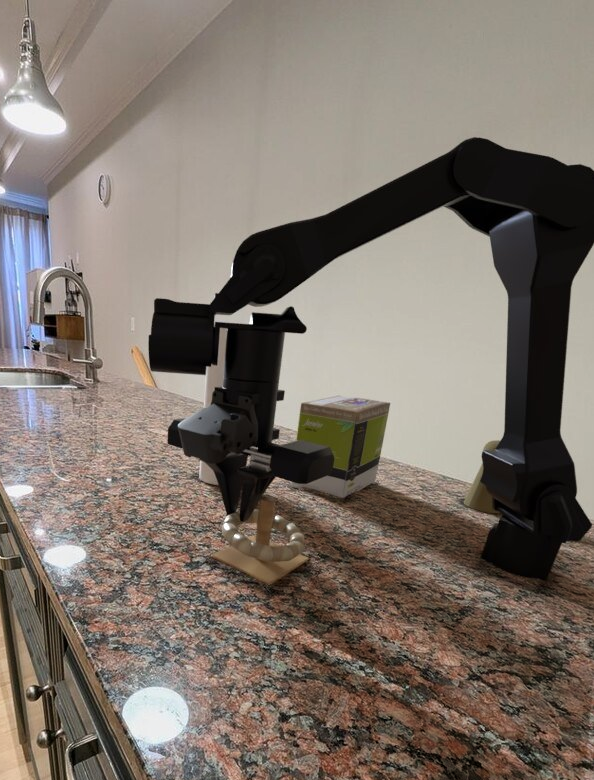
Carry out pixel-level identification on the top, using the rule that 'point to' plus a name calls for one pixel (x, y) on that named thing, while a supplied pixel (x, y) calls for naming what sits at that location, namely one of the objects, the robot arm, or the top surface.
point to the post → (254, 566)
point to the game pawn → (481, 489)
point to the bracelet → (262, 550)
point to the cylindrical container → (212, 380)
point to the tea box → (345, 440)
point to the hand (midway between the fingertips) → (237, 518)
